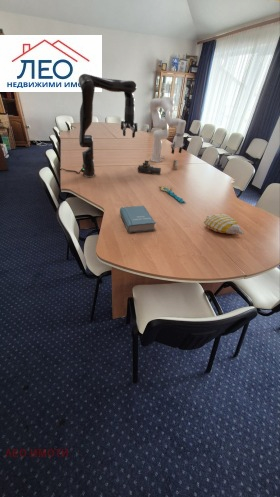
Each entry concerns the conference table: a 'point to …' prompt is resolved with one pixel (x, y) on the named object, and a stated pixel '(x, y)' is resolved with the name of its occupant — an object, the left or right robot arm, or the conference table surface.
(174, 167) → the tin
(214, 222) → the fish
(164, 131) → the right robot arm
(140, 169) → the laser sight
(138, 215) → the book
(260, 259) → the conference table surface
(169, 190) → the logo
